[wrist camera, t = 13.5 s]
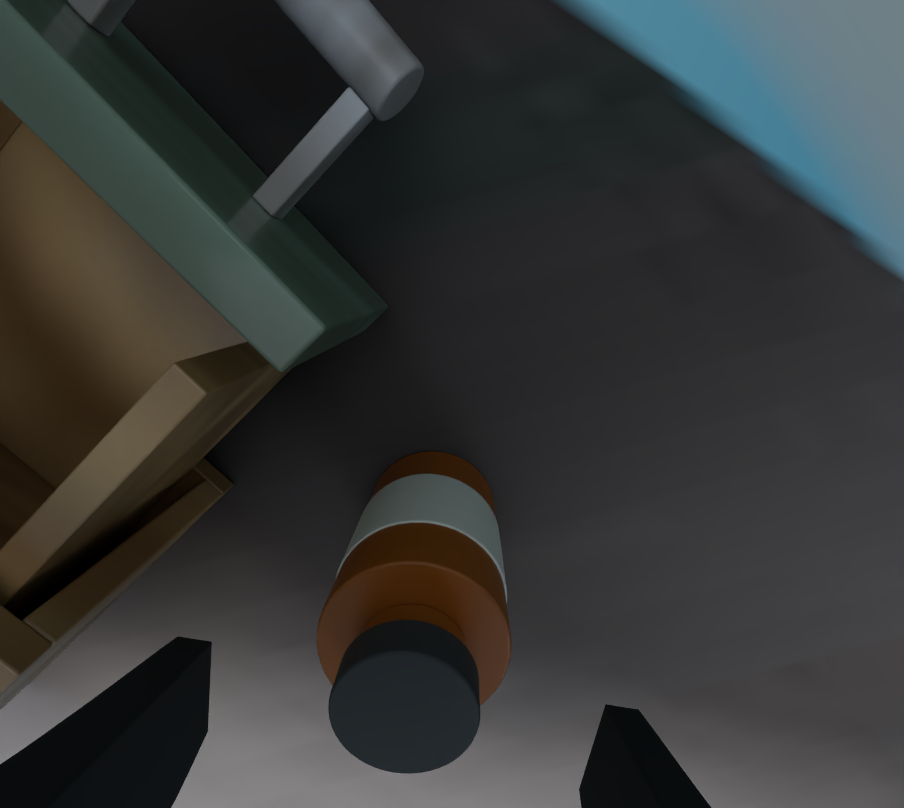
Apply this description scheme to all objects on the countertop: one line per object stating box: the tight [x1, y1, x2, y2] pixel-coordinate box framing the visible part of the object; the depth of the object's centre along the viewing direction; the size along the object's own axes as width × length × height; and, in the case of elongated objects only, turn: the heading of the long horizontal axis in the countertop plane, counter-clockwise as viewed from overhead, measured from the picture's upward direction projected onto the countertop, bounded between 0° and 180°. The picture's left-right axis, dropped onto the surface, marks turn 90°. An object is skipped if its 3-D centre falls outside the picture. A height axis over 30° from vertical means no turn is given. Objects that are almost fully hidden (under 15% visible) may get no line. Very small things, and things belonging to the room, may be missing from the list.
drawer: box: [0, 0, 424, 618], centre depth 11 cm, size 17×11×7 cm
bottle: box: [317, 451, 511, 773], centre depth 13 cm, size 4×4×8 cm
